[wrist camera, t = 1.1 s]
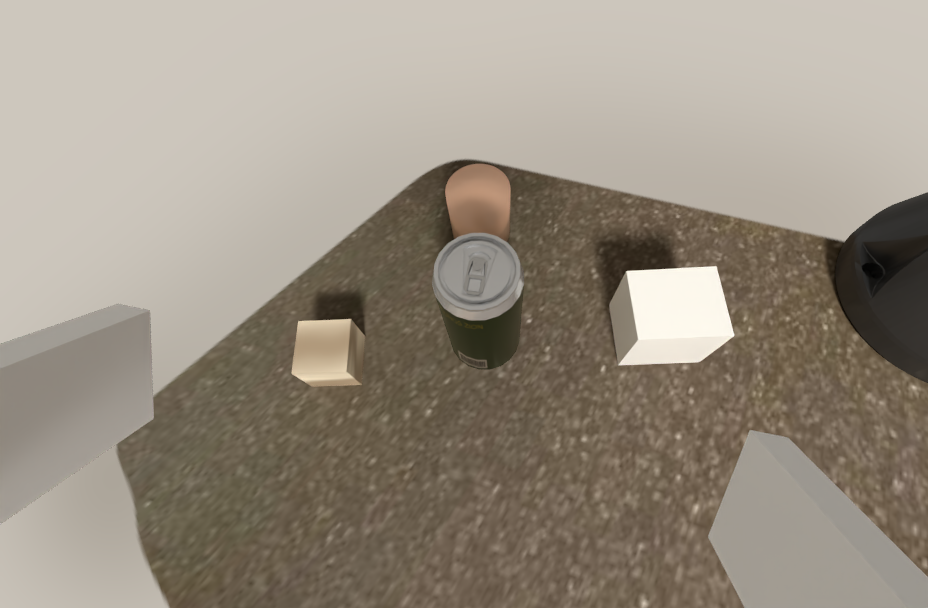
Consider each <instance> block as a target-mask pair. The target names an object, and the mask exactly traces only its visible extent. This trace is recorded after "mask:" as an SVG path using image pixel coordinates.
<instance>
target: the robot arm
mask: <svg viewBox="0 0 928 608" xmlns="http://www.w3.org/2000/svg"><path fill="white" fill-rule="evenodd" d="M835 275H836V286H837V291H838V295H839V298H840V301H841V303H842V306H843V308H844V310H845V312H846V314H847V316H848V318H849V319H850V321H851V322H852V324H853V325H854V327H855V328H856V330H857V331H858V332H859V333H860V335H861V336H862V337H863V338H864V339H865V340H866V341H867V342H868V343H869V344H870V346H871V347H873V348H874V349H875V350H876V351H877V352H878V353H879V354H880V355H882V356H883V357H884V358H885V359H887V360H888V361H889V362H891V363H892V364H894V365H895V366H897V367H898V368H900V369H901V370H903V371H905V372H906V373H908V374H910V375H912V376H914V377H916V378H918V379H920V380H922V381H925V382H927V383H928V193H925V194H922V195H919V196H917V197H913V198H911V199H908V200H905V201H902V202H899V203H897V204H894V205H892V206H890V207H888V208H886V209H884V210H882V211H881V212H879V213H878V214H876V215H875V216H873V217H872V218H871V219H869V220H868V221H867V222H866V223H865V224H863V225H862V226H860V227H859V228H858V229H857V230H856V231H855V232H853V233H852V234H851V235H850V236H849V238H848V239H847V240H846V241H845V243H844V245H843V246H842V248H841V250H840V253H839V255H838V259H837V263H836V274H835ZM152 385H153V384H152V355H151V324H150V310H146V309H141V308H136V307H130V306H126V305H121V304H116V305H113V306H110V307H107V308H104V309H101V310H98V311H95V312H92V313H89V314H86V315H84V316H81V317H78V318H75V319H72V320H69V321H66V322H63V323H60V324H57V325H54V326H51V327H48V328H46V329H43V330H40V331H37V332H34V333H31V334H28V335H25V336H22V337H19V338H17V339H13V340H10V341H8V342H4V343H1V344H0V524H1V523H3V522H5V521H6V520H7V519H9V518H10V517H12V516H13V515H15V514H16V513H17V512H19V511H20V510H22V509H23V508H25V507H26V506H28V505H29V504H30V503H32V502H33V501H35V500H36V499H38V498H39V497H41V496H42V495H44V494H45V493H46V492H48V491H49V490H51V489H52V488H54V487H55V486H56V485H58V484H59V483H61V482H62V481H64V480H65V479H67V478H68V477H70V476H71V475H72V474H74V473H75V472H77V471H78V470H80V469H81V468H83V467H84V466H85V465H87V464H88V463H90V462H91V461H93V460H94V459H95V458H97V457H99V456H100V455H101V454H103V453H104V452H106V451H107V450H109V449H110V448H112V447H113V446H115V445H116V444H117V443H119V442H120V441H122V440H123V439H125V438H126V437H128V436H129V435H131V434H132V433H133V432H135V431H136V430H138V429H139V428H141V427H142V426H144V425H145V424H146V423H148V422H149V421H151V420H152V419H154V413H153V386H152ZM708 538H709V540H710V542H711V544H712V545H713V547H714V549H715V551H716V553H717V555H718V557H719V559H720V561H721V563H722V565H723V567H724V569H725V571H726V573H727V574H728V576H729V578H730V580H731V582H732V584H733V586H734V588H735V590H736V592H737V594H738V596H739V598H740V600H741V602H742V603H743V605H744V607H745V608H928V577H927V576H926V575H925V574H924V573H923V572H922V571H921V570H920V569H919V568H918V567H917V566H916V565H915V564H914V563H913V562H912V561H911V560H910V559H909V558H908V557H907V556H906V555H905V554H904V553H903V552H902V551H901V550H900V549H899V548H898V547H897V546H896V545H895V544H894V543H893V542H892V541H891V540H890V539H889V538H888V537H887V536H886V535H885V534H884V533H883V532H882V531H881V530H880V529H879V528H878V527H877V526H876V525H875V524H874V523H873V522H872V521H871V520H870V519H869V518H868V517H867V516H866V515H865V514H864V513H863V512H862V511H861V510H860V509H859V508H858V507H857V506H856V505H855V504H854V503H853V502H852V501H851V500H850V499H849V498H848V497H847V496H846V495H845V494H844V493H843V492H842V491H841V490H840V489H839V488H838V487H837V486H836V485H835V484H834V483H833V482H832V481H831V480H830V479H829V478H828V477H827V476H826V475H825V474H824V473H823V472H822V471H821V470H820V469H819V468H818V467H817V466H816V465H815V464H814V463H813V462H812V461H811V460H810V459H809V458H808V457H807V456H806V455H805V454H804V453H803V452H802V451H801V450H800V449H799V448H798V447H797V446H796V445H795V444H794V443H793V442H792V441H791V440H790V439H789V438H787V437H782V436H777V435H772V434H767V433H762V432H757V431H752V430H750V431H749V434H748V436H747V439H746V442H745V444H744V447H743V449H742V452H741V454H740V457H739V459H738V462H737V464H736V467H735V469H734V472H733V474H732V477H731V480H730V482H729V485H728V487H727V490H726V492H725V495H724V497H723V500H722V502H721V505H720V507H719V510H718V513H717V515H716V518H715V520H714V523H713V525H712V528H711V530H710V533H709V535H708Z"/></svg>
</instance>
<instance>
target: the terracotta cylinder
mask: <svg viewBox="0 0 928 608" xmlns="http://www.w3.org/2000/svg"><path fill="white" fill-rule="evenodd" d="M445 195H446V201H447V206H448V211H449V216H450V221H451V226H452V232H453V237H454V239H456V238H457V237H459V236H462V235H466V234H469V233H487V234H491V235H495V236H498V237H499V238H501V239H503V240H504V241H506V242H507V241H508V239H509V235H510V183H509V180H508V178H507V177H506V175H505V174H504V173H503V172H502V171H501V170H499V169H498V168H496V167H494V166H491V165H487V164H472V165H468V166H465V167H462V168H461V169H459V170H457V171H456V172H455V173H454V174H453V175H452V176H451V177H450V178H449V180H448V182H447V184H446V189H445Z"/></svg>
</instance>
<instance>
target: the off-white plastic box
mask: <svg viewBox="0 0 928 608" xmlns="http://www.w3.org/2000/svg"><path fill="white" fill-rule="evenodd" d="M609 308H610V315H611V321H612V328H613V335H614V341H615V348H616V355H617V361H618V365H637V364H664V363H690V362H700V361H701V360H703V359H704V358H705V357H707V356H708V355H709V354H711V353H712V352H713V351H715V350H716V349H717V348H719V347H720V346H721V345H723V344H724V343H725V342H727V341H728V340H729V339H731V338H732V337H733V336H734V333H733V329H732V325H731V321H730V317H729V313H728V309H727V306H726V302H725V298H724V294H723V290H722V286H721V282H720V279H719V275H718V271H717V267H716V266H714V267H695V268H675V269H656V270H636V271H626V273H625V275H624V276H623V278H622V280H621V282H620V284H619V286H618V288H617V290H616V292H615V294H614V296H613V298H612V300H611V302H610V304H609Z"/></svg>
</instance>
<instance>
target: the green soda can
mask: <svg viewBox="0 0 928 608" xmlns="http://www.w3.org/2000/svg"><path fill="white" fill-rule="evenodd" d="M432 286H433V289H434V292H435V296H436V299H437V302H438V305H439V308H440V311H441V314H442V317H443V320H444V323H445V326H446V329H447V332H448V335H449V338H450V341H451V344H452V347H453V350H454V352H455V353H456V355H457V356H458V358H459V359H460V360H461V361H463V362H464V363H465V364H467V365H468V366H471V367H474V368H477V369H493V368H496V367H499V366H501V365H503V364H504V363H506V362H507V361H508V360H510V358H511V357H512V356H513V354H514V353H515V352H516V349H517V346H518V343H519V337H520V325H521V313H522V301H523V289H524V271H523V268H522V266H521V263H520V261H519V258H518V257H517V254H516V252H515V251H514V249H513V248H512V247H511V246H510V245H509V244H508V243H507V242H506V241H504V240H503V239H501V238H499V237H498V236H495V235H491V234H487V233H469V234H466V235H462V236H459V237H457V238H456V239H454V240H452V241H451V242H449V243H448V244H447V245H446V246H445V247H444V248H443V249H442V251H441V252H440V253H439V255H438V257H437V260H436V262H435V264H434V271H433V281H432Z"/></svg>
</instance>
